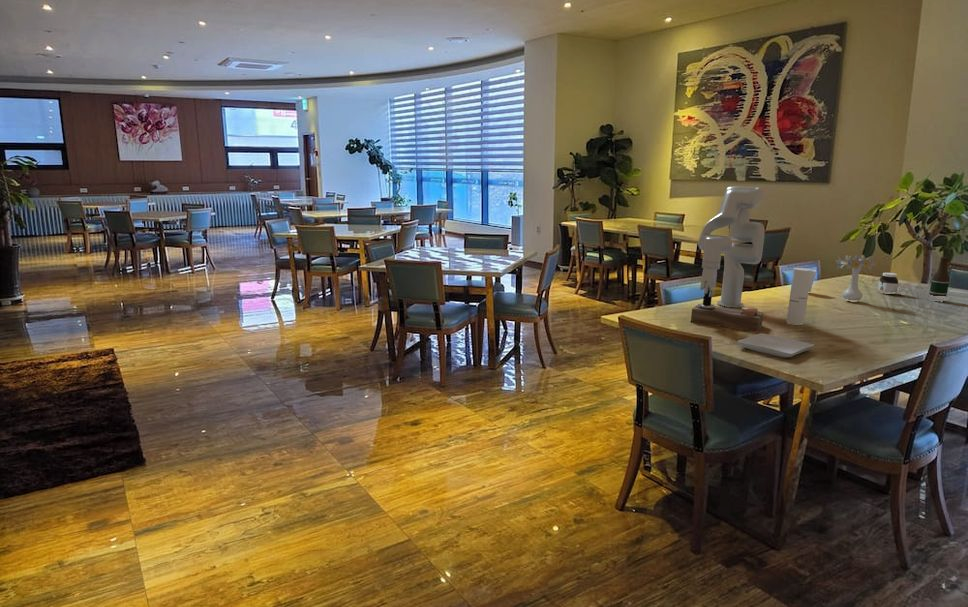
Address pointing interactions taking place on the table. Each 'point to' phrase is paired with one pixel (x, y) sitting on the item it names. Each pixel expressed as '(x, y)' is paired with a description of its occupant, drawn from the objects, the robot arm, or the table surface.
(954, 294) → the table surface
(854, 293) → the flower vase
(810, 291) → the foam cup
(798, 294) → the white tall box
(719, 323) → the button stand
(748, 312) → the terracotta plunger
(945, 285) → the beer bottle
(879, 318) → the table surface
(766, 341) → the salad plate
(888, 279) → the spread jar
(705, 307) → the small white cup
